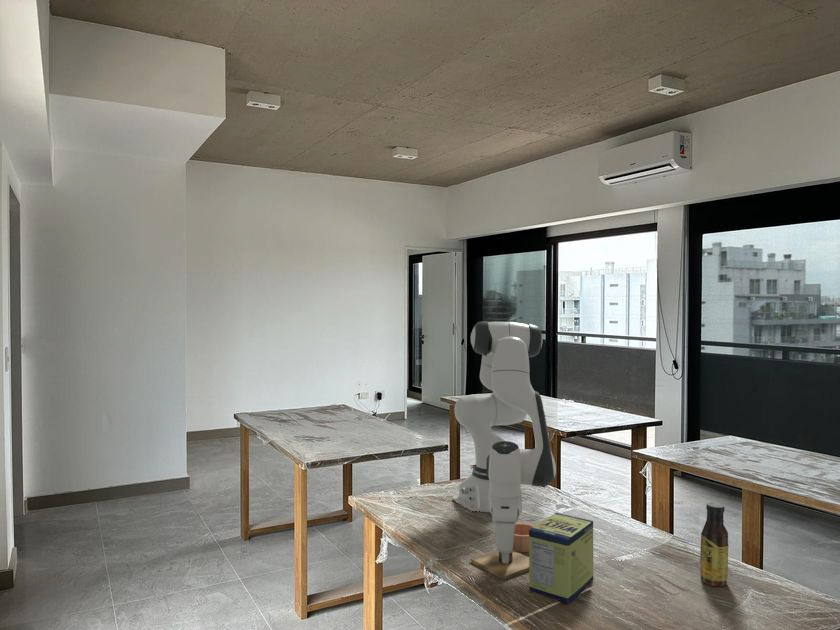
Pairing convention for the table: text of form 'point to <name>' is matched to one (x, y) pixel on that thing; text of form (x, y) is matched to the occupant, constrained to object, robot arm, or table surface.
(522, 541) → the bowl
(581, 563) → the protein box
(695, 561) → the table surface
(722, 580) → the sauce bottle
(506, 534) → the robot arm
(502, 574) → the lid
